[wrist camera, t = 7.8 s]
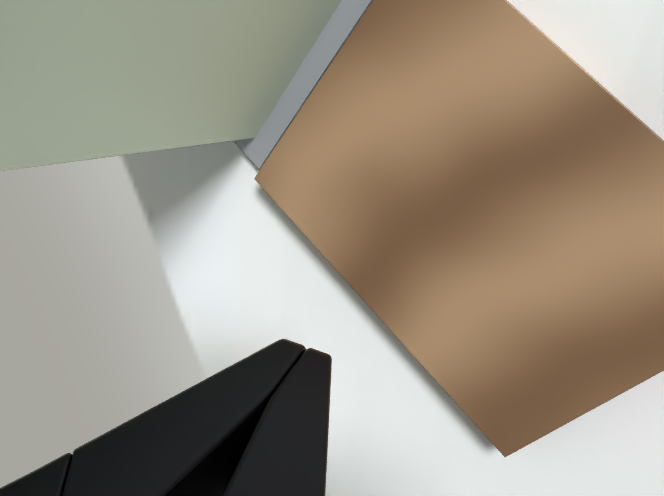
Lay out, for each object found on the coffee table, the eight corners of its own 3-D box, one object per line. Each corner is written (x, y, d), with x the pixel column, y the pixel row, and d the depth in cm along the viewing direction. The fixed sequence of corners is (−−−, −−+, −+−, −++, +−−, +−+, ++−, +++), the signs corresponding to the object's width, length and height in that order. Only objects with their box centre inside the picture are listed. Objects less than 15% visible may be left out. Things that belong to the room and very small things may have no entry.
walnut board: (809, 271, 13) (821, 284, 12) (511, 440, 18) (504, 457, 17) (434, -64, 15) (422, -74, 14) (269, 174, 20) (254, 178, 20)
